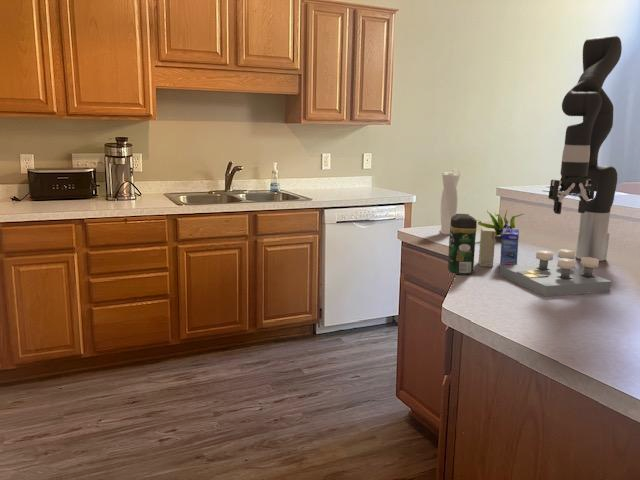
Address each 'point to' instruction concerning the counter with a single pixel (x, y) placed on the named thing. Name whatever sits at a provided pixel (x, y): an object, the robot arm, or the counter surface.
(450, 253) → the coffee jar
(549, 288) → the board
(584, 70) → the robot arm
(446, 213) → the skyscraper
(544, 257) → the button
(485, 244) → the skincare box
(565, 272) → the button
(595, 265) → the button
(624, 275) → the counter surface
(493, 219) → the decorative plant
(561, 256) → the button
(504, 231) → the ink cartridge box
